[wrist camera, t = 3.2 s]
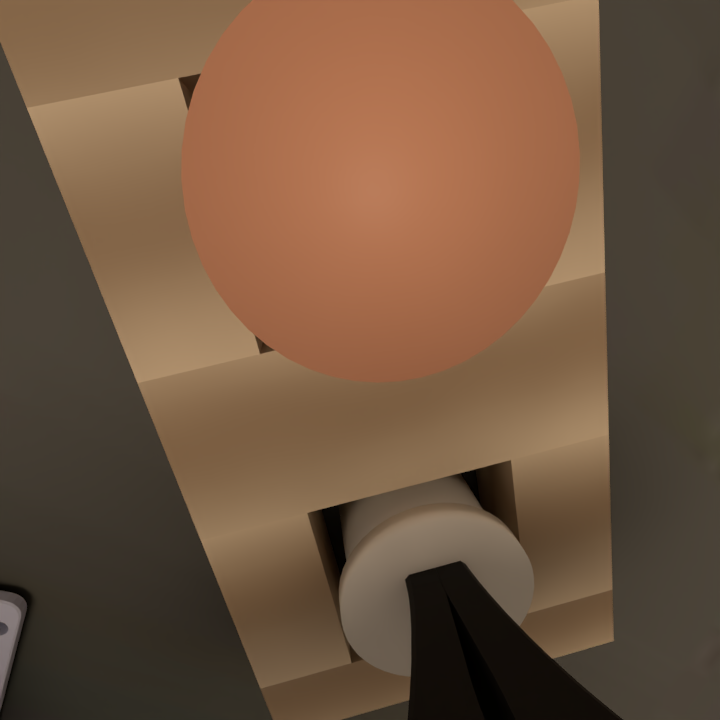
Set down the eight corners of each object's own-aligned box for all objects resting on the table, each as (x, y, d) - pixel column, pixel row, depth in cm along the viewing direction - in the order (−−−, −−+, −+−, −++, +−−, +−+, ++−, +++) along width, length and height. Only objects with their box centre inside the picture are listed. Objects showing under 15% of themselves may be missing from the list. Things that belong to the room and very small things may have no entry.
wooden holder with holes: (558, 565, 16) (613, 641, 13) (283, 641, 16) (279, 737, 13) (512, -52, 10) (595, -151, 7) (63, 33, 10) (-33, -40, 7)
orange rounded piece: (476, 288, 10) (587, 336, 6) (268, 337, 10) (250, 419, 6) (446, 44, 8) (570, -91, 5) (198, 94, 8) (113, -6, 4)
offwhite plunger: (480, 538, 15) (540, 647, 11) (346, 574, 15) (363, 698, 11) (462, 417, 14) (526, 496, 10) (313, 455, 13) (319, 551, 10)
